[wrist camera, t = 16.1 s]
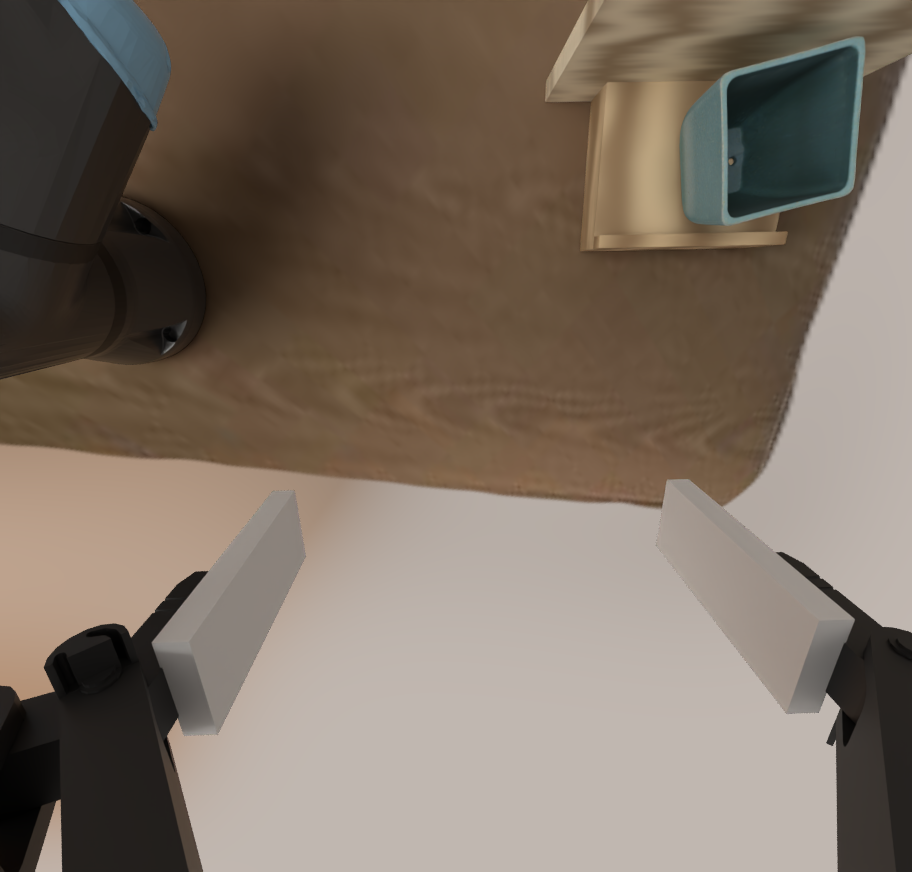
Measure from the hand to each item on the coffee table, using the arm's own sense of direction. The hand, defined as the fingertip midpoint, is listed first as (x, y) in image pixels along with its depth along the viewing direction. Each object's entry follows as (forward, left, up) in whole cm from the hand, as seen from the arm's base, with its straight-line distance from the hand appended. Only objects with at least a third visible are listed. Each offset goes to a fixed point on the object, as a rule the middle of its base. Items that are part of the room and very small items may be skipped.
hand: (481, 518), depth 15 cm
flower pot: (+21, +16, -28) cm, 39 cm away
